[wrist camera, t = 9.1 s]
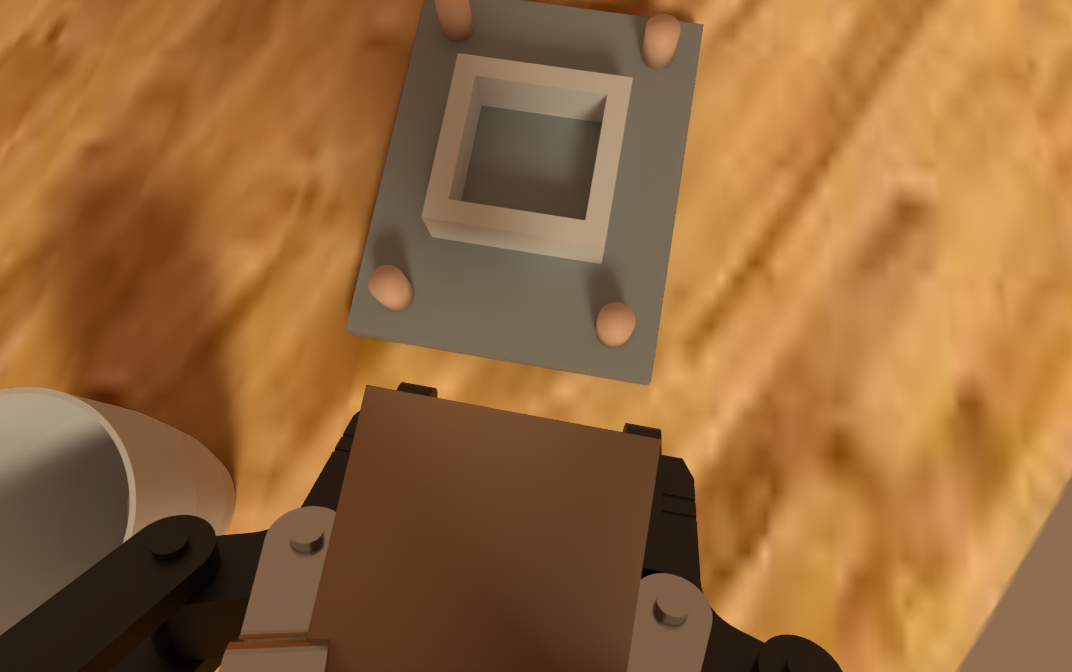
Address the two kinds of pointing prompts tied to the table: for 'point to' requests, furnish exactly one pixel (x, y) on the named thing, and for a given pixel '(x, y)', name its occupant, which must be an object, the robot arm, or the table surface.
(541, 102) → the housing plate
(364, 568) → the brown block
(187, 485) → the cup
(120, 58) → the table surface
